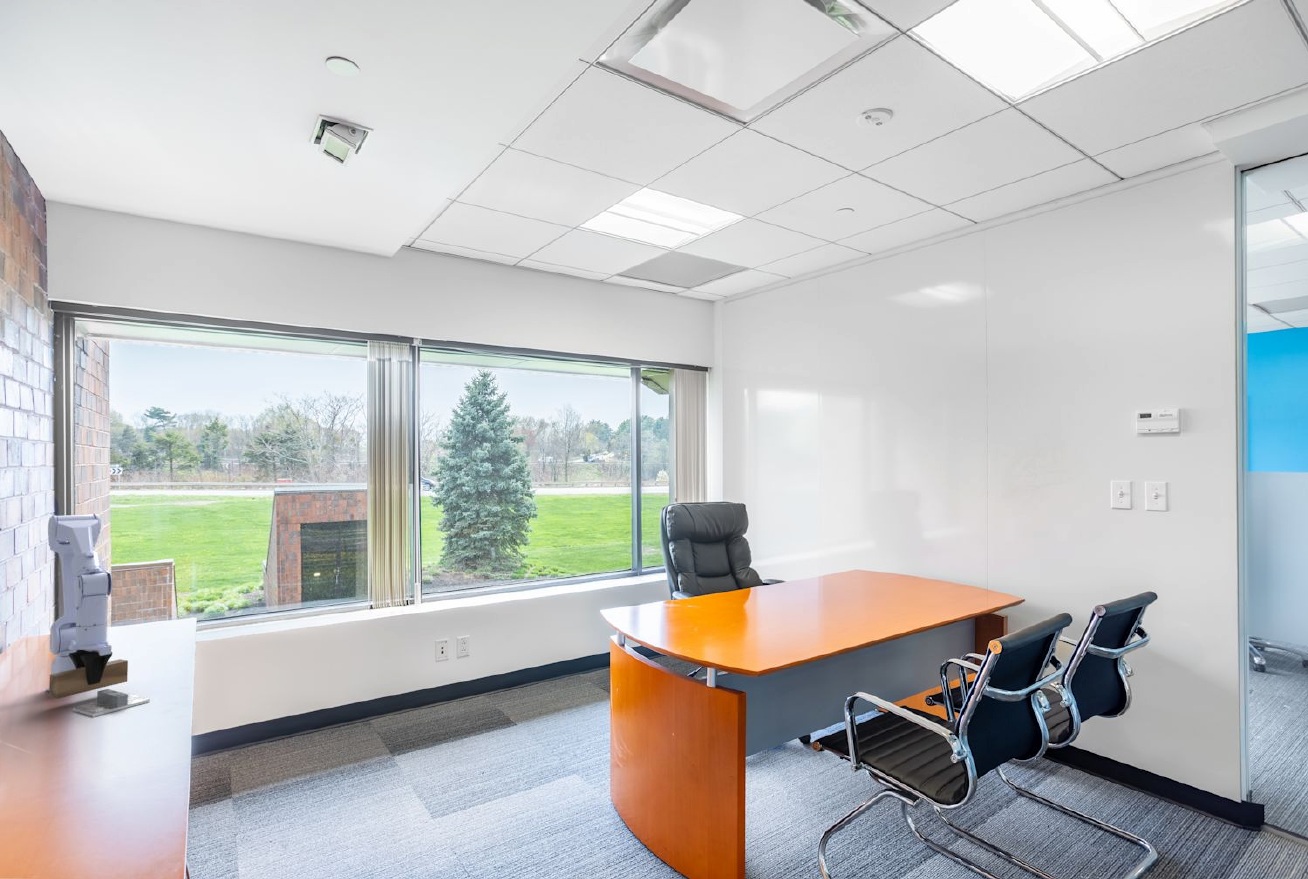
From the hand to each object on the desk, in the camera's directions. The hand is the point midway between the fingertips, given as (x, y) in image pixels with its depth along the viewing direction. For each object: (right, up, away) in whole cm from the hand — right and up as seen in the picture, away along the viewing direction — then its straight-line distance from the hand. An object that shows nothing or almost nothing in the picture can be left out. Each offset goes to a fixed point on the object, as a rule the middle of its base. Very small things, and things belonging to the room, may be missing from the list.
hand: (89, 682), depth 160 cm
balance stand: (+9, -4, -5) cm, 11 cm away
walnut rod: (0, -2, 0) cm, 2 cm away
